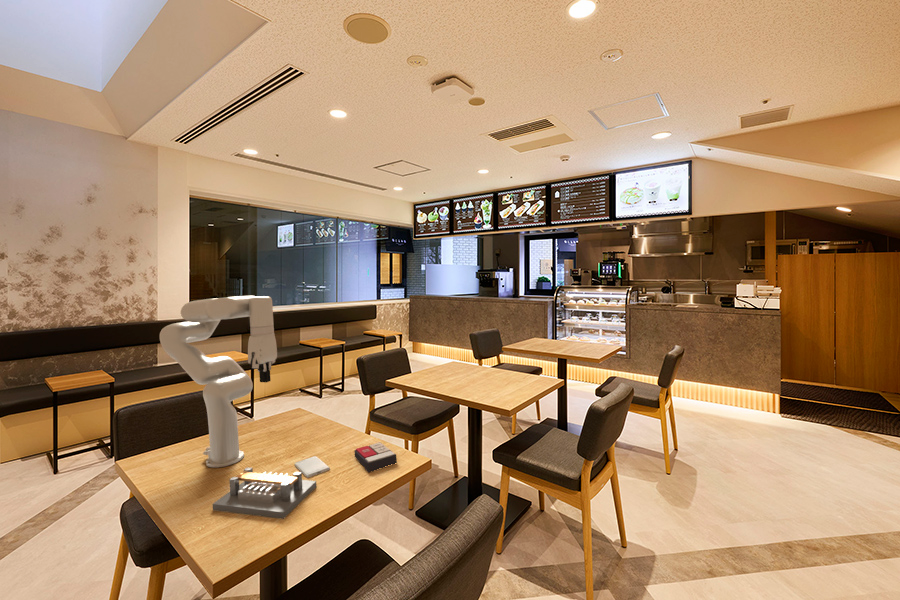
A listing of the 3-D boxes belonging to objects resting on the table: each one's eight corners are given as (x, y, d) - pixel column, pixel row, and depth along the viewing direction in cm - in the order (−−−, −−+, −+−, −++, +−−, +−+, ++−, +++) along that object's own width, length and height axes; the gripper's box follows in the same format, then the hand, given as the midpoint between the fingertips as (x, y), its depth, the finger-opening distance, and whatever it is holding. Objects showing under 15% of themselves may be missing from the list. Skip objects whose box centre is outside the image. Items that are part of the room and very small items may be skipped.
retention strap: (235, 481, 120) (234, 476, 120) (243, 475, 124) (243, 470, 124) (290, 486, 116) (290, 481, 116) (298, 480, 119) (297, 475, 119)
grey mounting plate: (212, 510, 115) (212, 503, 114) (253, 480, 131) (253, 475, 131) (283, 519, 109) (283, 512, 109) (316, 487, 126) (316, 481, 126)
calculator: (380, 440, 153) (396, 452, 140) (381, 451, 153) (397, 464, 140) (353, 448, 147) (367, 461, 134) (354, 459, 147) (368, 473, 134)
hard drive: (294, 462, 141) (307, 474, 132) (316, 455, 147) (329, 466, 137) (294, 467, 141) (307, 479, 132) (316, 459, 147) (330, 471, 137)
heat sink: (227, 497, 117) (226, 481, 117) (250, 480, 127) (249, 465, 127) (284, 504, 113) (283, 487, 113) (304, 486, 123) (303, 470, 122)
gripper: (267, 328, 145) (270, 376, 146) (237, 334, 130) (240, 387, 131) (284, 328, 143) (287, 376, 144) (256, 334, 128) (259, 388, 129)
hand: (265, 381), depth 138 cm, fingers closed
